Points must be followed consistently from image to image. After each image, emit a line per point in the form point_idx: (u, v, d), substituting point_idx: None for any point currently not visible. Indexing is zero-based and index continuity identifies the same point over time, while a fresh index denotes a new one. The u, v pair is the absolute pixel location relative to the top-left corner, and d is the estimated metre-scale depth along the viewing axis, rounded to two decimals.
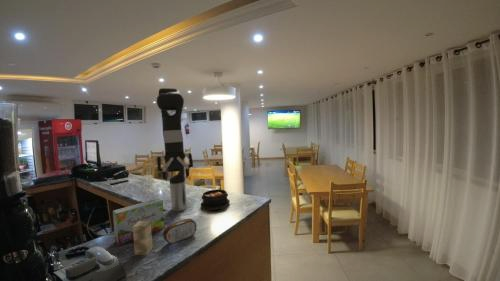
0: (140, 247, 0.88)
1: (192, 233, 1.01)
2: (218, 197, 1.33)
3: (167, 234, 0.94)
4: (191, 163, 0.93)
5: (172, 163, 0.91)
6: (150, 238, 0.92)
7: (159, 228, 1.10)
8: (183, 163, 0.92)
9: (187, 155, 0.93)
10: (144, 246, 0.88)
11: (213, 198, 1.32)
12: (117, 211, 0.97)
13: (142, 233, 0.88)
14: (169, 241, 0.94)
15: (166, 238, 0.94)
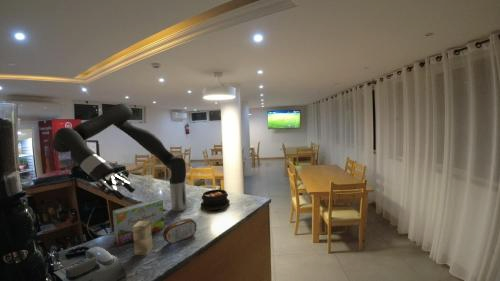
0: (140, 247, 0.88)
1: (192, 233, 1.01)
2: (218, 197, 1.33)
3: (167, 234, 0.94)
4: (127, 178, 0.95)
5: (115, 182, 0.87)
6: (150, 238, 0.92)
7: (159, 228, 1.10)
8: (123, 179, 0.91)
9: (118, 175, 0.93)
10: (144, 246, 0.88)
11: (213, 198, 1.32)
12: (117, 211, 0.97)
13: (142, 233, 0.88)
14: (169, 241, 0.94)
15: (166, 238, 0.94)
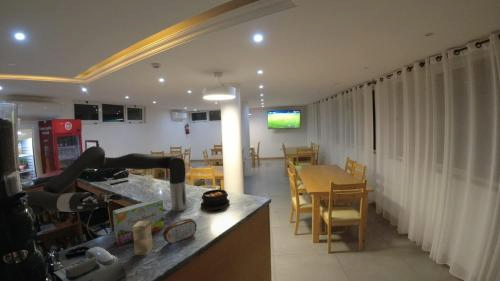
0: (140, 247, 0.88)
1: (192, 233, 1.01)
2: (218, 197, 1.33)
3: (167, 234, 0.94)
4: (110, 193, 0.95)
5: (96, 199, 0.88)
6: (150, 238, 0.92)
7: (159, 228, 1.10)
8: (104, 194, 0.92)
9: None
10: (144, 246, 0.88)
11: (213, 198, 1.32)
12: (117, 211, 0.97)
13: (142, 233, 0.88)
14: (169, 241, 0.94)
15: (166, 238, 0.94)
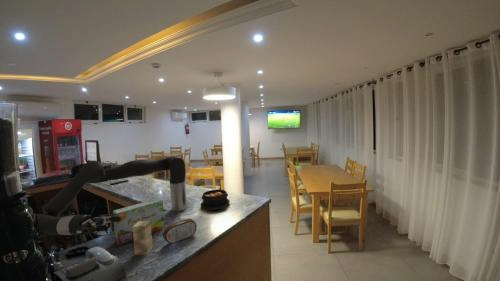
0: (140, 247, 0.88)
1: (192, 233, 1.01)
2: (218, 197, 1.33)
3: (167, 234, 0.94)
4: (109, 214, 0.96)
5: (95, 222, 0.88)
6: (150, 238, 0.92)
7: (159, 228, 1.10)
8: (103, 216, 0.92)
9: None
10: (144, 246, 0.88)
11: (213, 198, 1.32)
12: (117, 211, 0.97)
13: (142, 233, 0.88)
14: (169, 241, 0.94)
15: (166, 238, 0.94)
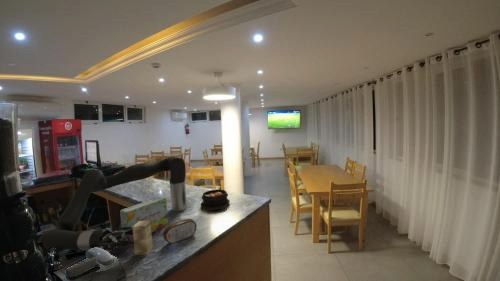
0: (140, 247, 0.88)
1: (192, 233, 1.01)
2: (218, 197, 1.33)
3: (167, 234, 0.94)
4: (127, 227, 0.96)
5: (115, 237, 0.89)
6: (150, 238, 0.92)
7: (163, 225, 1.13)
8: (122, 230, 0.93)
9: (117, 231, 0.95)
10: (144, 246, 0.88)
11: (213, 198, 1.32)
12: (126, 210, 0.98)
13: (142, 233, 0.88)
14: (169, 241, 0.94)
15: (166, 238, 0.94)
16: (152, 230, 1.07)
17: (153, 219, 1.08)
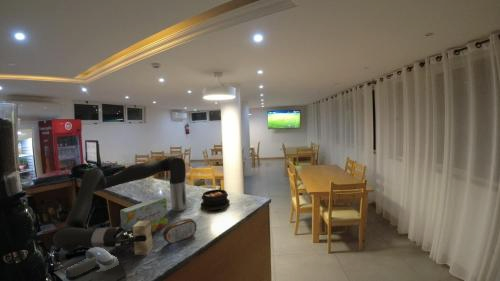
0: (140, 247, 0.88)
1: (192, 233, 1.01)
2: (218, 197, 1.33)
3: (167, 234, 0.94)
4: None
5: (129, 234, 0.90)
6: (150, 238, 0.92)
7: (163, 224, 1.13)
8: None
9: (131, 229, 0.95)
10: (144, 246, 0.88)
11: (213, 198, 1.32)
12: (126, 210, 0.98)
13: (142, 233, 0.88)
14: (169, 241, 0.94)
15: (166, 238, 0.94)
16: (152, 230, 1.07)
17: (153, 219, 1.08)
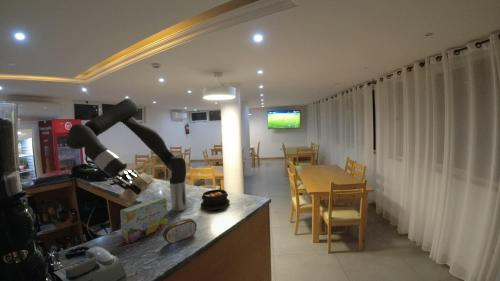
0: (128, 195, 0.87)
1: (192, 233, 1.01)
2: (218, 197, 1.33)
3: (167, 234, 0.94)
4: None
5: None
6: (140, 194, 0.91)
7: (163, 225, 1.13)
8: (135, 175, 0.91)
9: (131, 171, 0.94)
10: (131, 197, 0.87)
11: (213, 198, 1.32)
12: (126, 210, 0.98)
13: (140, 187, 0.87)
14: (169, 241, 0.94)
15: (166, 238, 0.94)
16: (152, 230, 1.07)
17: (153, 219, 1.08)
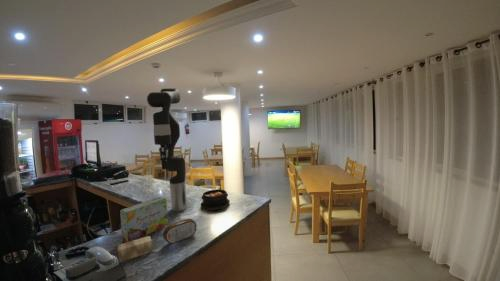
0: (127, 253, 0.86)
1: (192, 233, 1.01)
2: (218, 197, 1.33)
3: (167, 234, 0.94)
4: None
5: (166, 153, 1.04)
6: None
7: (163, 225, 1.13)
8: None
9: None
10: (128, 257, 0.86)
11: (213, 198, 1.32)
12: (126, 210, 0.98)
13: (144, 252, 0.89)
14: (169, 241, 0.94)
15: (166, 238, 0.94)
16: (152, 230, 1.07)
17: (153, 219, 1.08)
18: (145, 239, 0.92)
